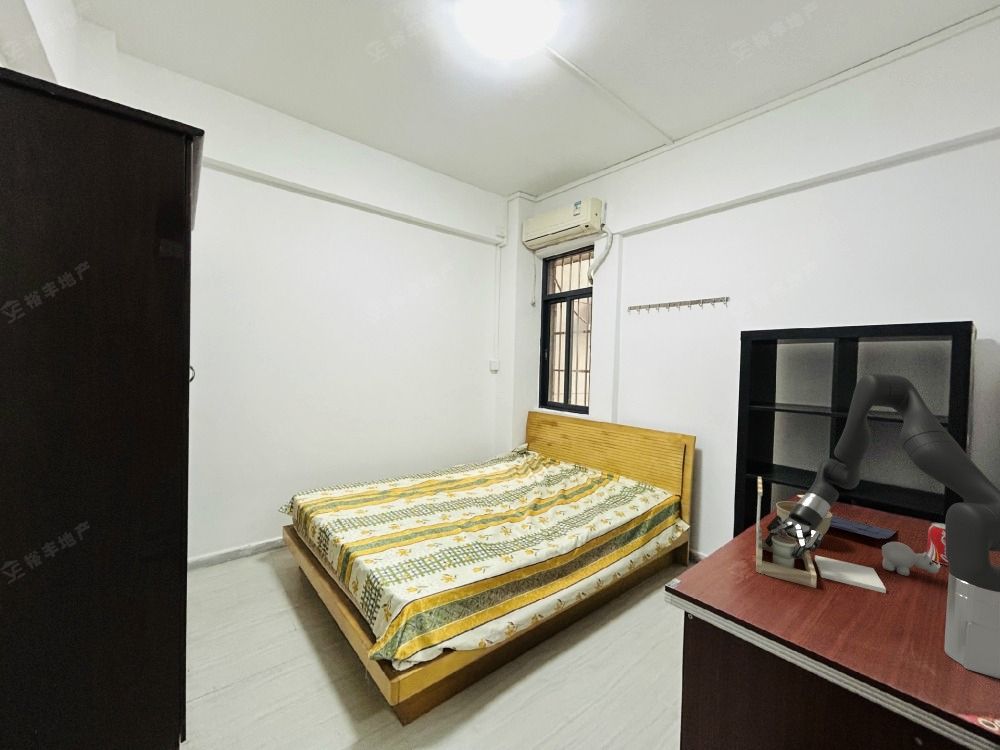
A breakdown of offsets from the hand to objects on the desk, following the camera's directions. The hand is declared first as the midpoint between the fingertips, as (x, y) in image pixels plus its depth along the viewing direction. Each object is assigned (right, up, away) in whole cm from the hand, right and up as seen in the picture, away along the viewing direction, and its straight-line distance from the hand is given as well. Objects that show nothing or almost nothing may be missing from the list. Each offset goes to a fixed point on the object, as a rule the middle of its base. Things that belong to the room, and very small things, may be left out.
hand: (780, 550), depth 123 cm
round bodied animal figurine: (+37, -6, -2) cm, 38 cm away
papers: (+49, -6, +32) cm, 59 cm away
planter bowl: (+23, -5, +22) cm, 32 cm away
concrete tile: (+17, -5, -4) cm, 18 cm away
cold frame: (+1, -5, 0) cm, 5 cm away
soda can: (+57, -7, +6) cm, 58 cm away
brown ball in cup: (+1, -5, 0) cm, 5 cm away
